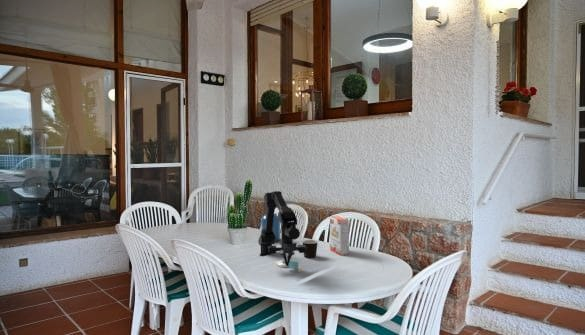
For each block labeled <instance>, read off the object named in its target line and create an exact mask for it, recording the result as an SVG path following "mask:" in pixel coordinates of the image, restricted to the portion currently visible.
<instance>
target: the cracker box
mask: <svg viewBox="0 0 585 335" xmlns="http://www.w3.org/2000/svg"><path fill="white" fill-rule="evenodd" d="M349 221H350V220H349V219H346V218H344V217H341V216H338V215H335V216H334V215H333V216H329V243H330V244H329V248H330V251H332V252H334V253H336V254H338V255H339V256H347V255H350V242H349V241H350V237H349V236H350V231H349V230H350V228H349V227H350V226H349V225H350V222H349Z"/></svg>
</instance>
